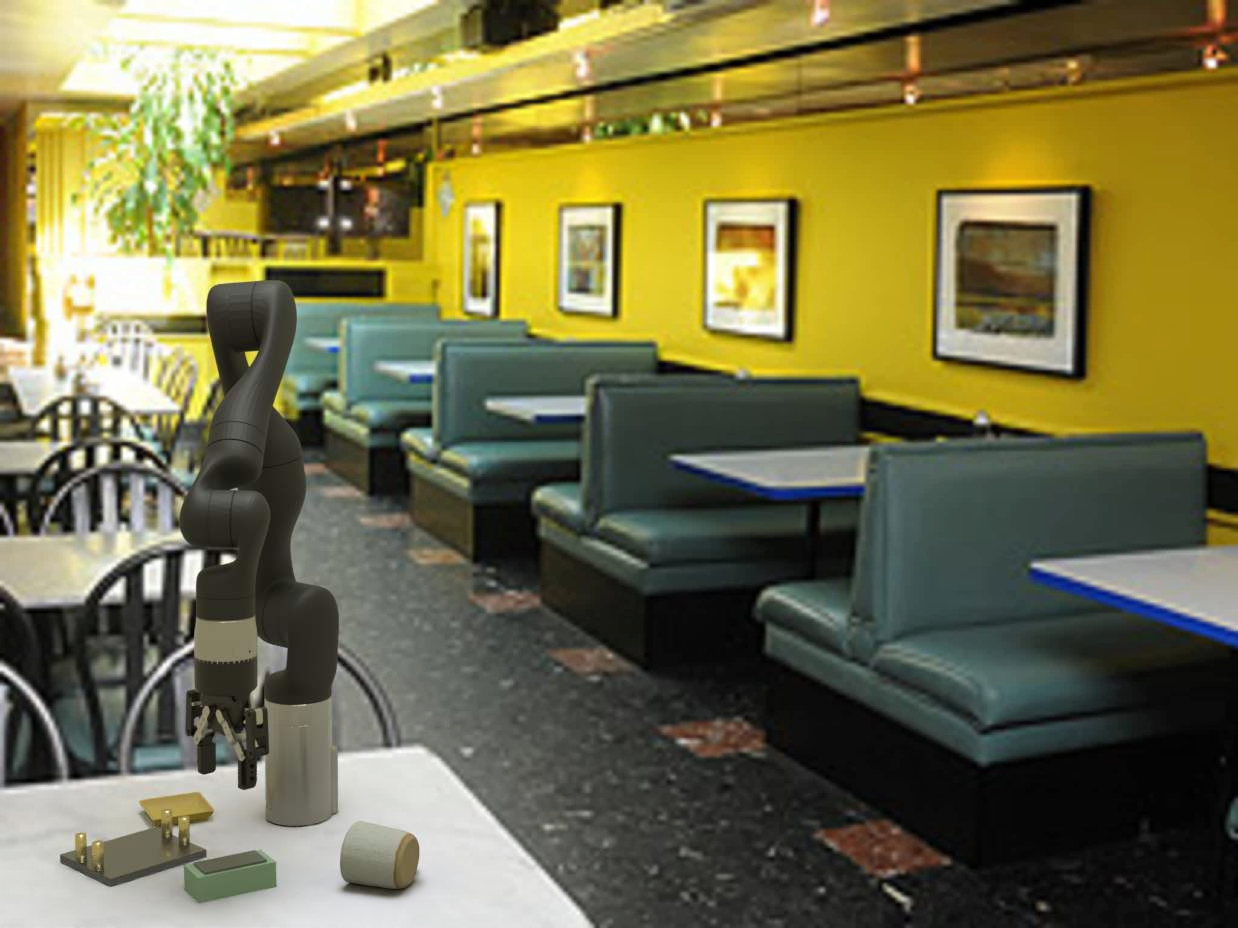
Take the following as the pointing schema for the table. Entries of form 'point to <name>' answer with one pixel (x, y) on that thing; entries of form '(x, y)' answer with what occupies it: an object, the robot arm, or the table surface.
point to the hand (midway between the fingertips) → (226, 780)
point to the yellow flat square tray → (178, 807)
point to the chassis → (135, 852)
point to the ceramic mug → (379, 856)
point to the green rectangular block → (229, 875)
